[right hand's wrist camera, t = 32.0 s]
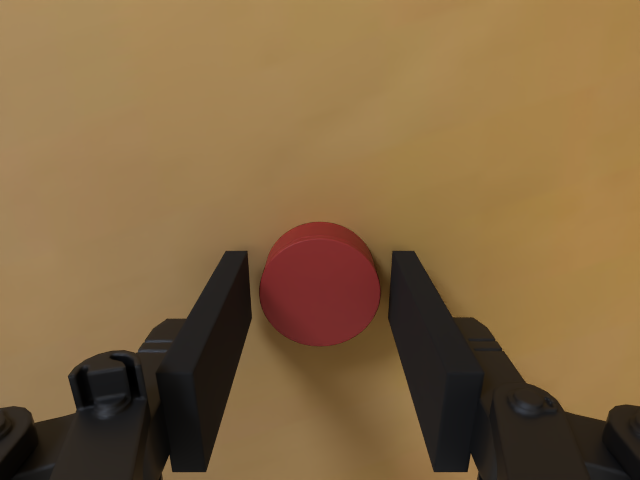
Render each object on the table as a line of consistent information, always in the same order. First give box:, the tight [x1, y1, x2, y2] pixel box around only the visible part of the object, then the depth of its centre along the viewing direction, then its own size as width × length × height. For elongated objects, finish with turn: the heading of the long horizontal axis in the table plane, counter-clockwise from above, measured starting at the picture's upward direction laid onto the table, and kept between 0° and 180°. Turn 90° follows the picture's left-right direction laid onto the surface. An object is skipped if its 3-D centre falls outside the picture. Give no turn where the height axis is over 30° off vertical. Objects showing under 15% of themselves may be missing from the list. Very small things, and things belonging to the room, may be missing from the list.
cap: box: [259, 222, 381, 346], centre depth 15 cm, size 4×4×2 cm
